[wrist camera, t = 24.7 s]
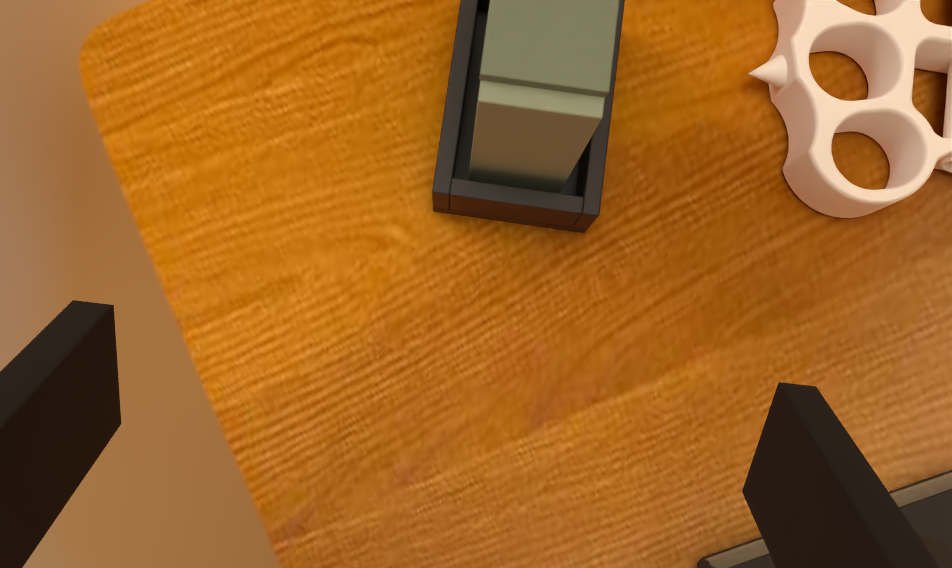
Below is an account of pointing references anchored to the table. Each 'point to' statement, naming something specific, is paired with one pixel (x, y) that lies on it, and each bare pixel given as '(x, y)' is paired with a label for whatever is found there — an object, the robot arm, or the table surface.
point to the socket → (454, 154)
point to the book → (923, 503)
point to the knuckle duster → (879, 116)
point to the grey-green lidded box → (541, 89)
